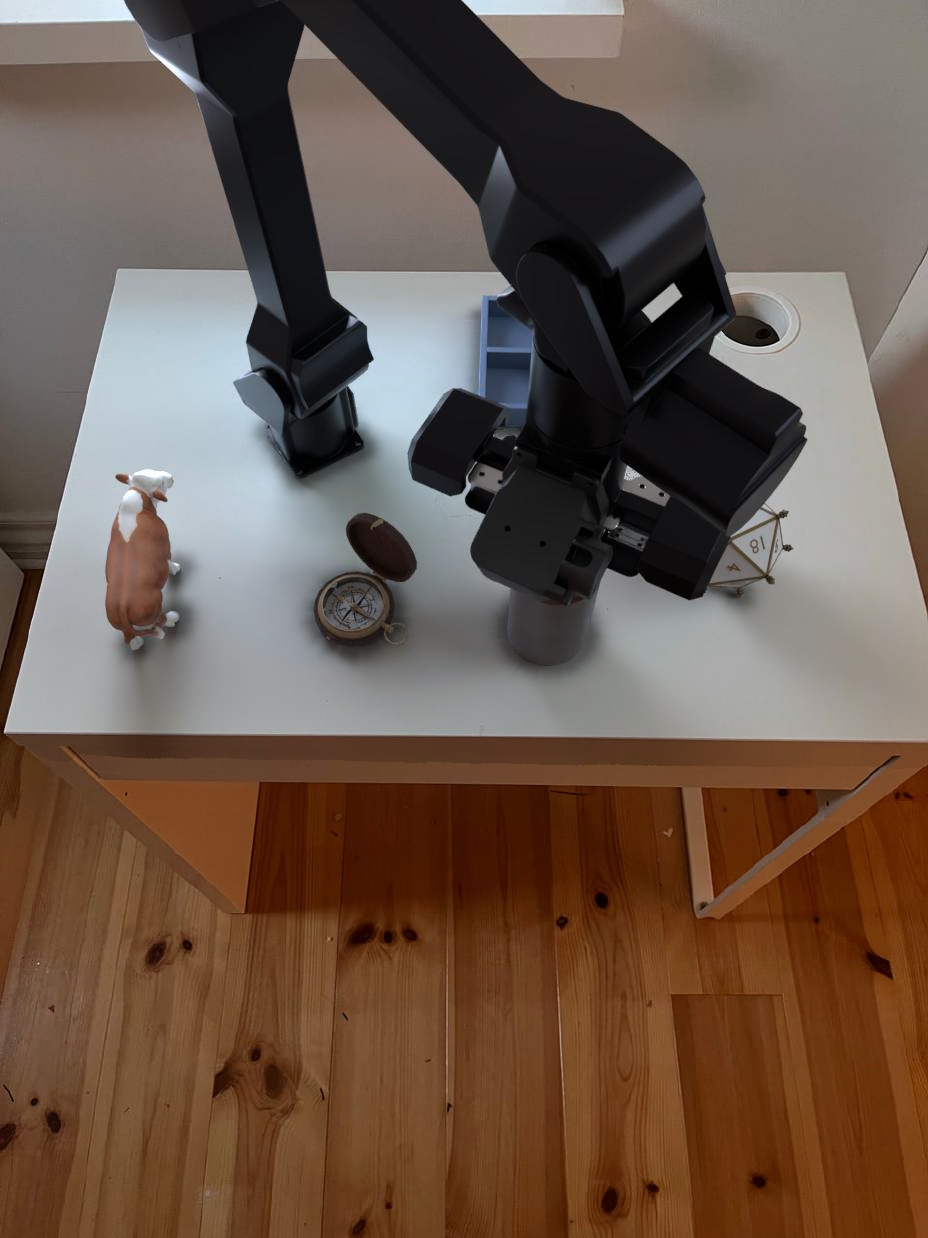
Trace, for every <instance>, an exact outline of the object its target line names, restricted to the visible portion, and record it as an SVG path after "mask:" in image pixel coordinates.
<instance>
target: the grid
mask: <svg viewBox="0 0 928 1238" xmlns="http://www.w3.org/2000/svg"><path fill="white" fill-rule="evenodd" d="M497 296H498V295H482V296H481V317H480V346H479V371H478V372H479V373H478V395H479V396H481V397H484V398H486V399H489V400H491V401H494V402H496V403H499V404H501V405H504V406H506V407H509V408H510V418H509V421H508V423H507V424H506V426H504V427H503V428H523V426H524V425H525V423H526V413H527V400H528V390H529V377H530V364H531V352H532V339H533V334H532V332H531V330H530V329H529V328H528V327H527V326H525V325H524V324H522V323H521V322H519V321H518V320H516V319H515V318H513V317H512V316H510V315H509V314H507V313H506V312H504V311H503V310H502V309H500V308H499V306H498V305H497V301H496V299H497Z"/></svg>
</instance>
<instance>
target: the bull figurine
mask: <svg viewBox="0 0 928 1238" xmlns="http://www.w3.org/2000/svg"><path fill="white" fill-rule="evenodd" d="M115 479H116V480H117V482H120V483H121V484H125V485H128V486H129V489H128V490H127V491H126V492H125V493H124V495H123V496H122V497H121V500H120V504H119V506H118V511H117V513H116V515H115V517H114V520H113V522H112V525H111V529H110V537H109V543H108V545H107V550H106V551H107V552H106V560H105V568H104V569H105V570H104V571H105V573H104V574H105V581H106V592H105V602H104V606H105V613H106V618H107V621H108V623H109V624H110V626H111V627H112V628H113V629H115V630H117V631H120V632H122V634H123V639H124V640H123V641H124V643H125V644H126V645H129V646H130V650H132V651H134V650H138V649H140V647H142V646H143V645H144V643H145V640H144V636H147V635H150V636H151V637H154V638H157V639H159V640H163V638H165V635H166V633H165V631H164V630H163V628H164V627H166V628H171V627H176V626H175V623H177V622H178V621H179V619H180V614H179V612H177V611H175V610H170V611H169V612H167V613H165V612H163V602H164V601H163V600H164V595H163V591H162V590H163V588H164V587H165V586H166V584H167V583H168V580H169V577H170V575H173V576H175V575H176V574H177V573H179V572H180V571H181V568H182V567H181V564H179V563H178V562H174V561H172V557H173V556H172V552H171V548H172V547H171V541H170V534H169V530H168V526H167V524H166V522H165V521H164V520H163V519H162V518H161V517H160V516H159V515H158V511H157V508H158V503H159V502H164V503H167V502H168V501H169V500H168V498H167V496H166V495H167V492H168V489H171V488H172V487H173V485H174V479H173V475H172V474H170V473H169V472H166V471H163V470H162V471H157V470H154V469H143V470H140V471H137V472H134V473H133V474H132V476H131V475H130V474H127V473H117V474H115ZM152 625H153V626H152ZM134 626H135V627H140V628H145V627H149V626H152V627H151V628H145V629H141V630H139V629H136V628H135V627H134Z"/></svg>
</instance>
